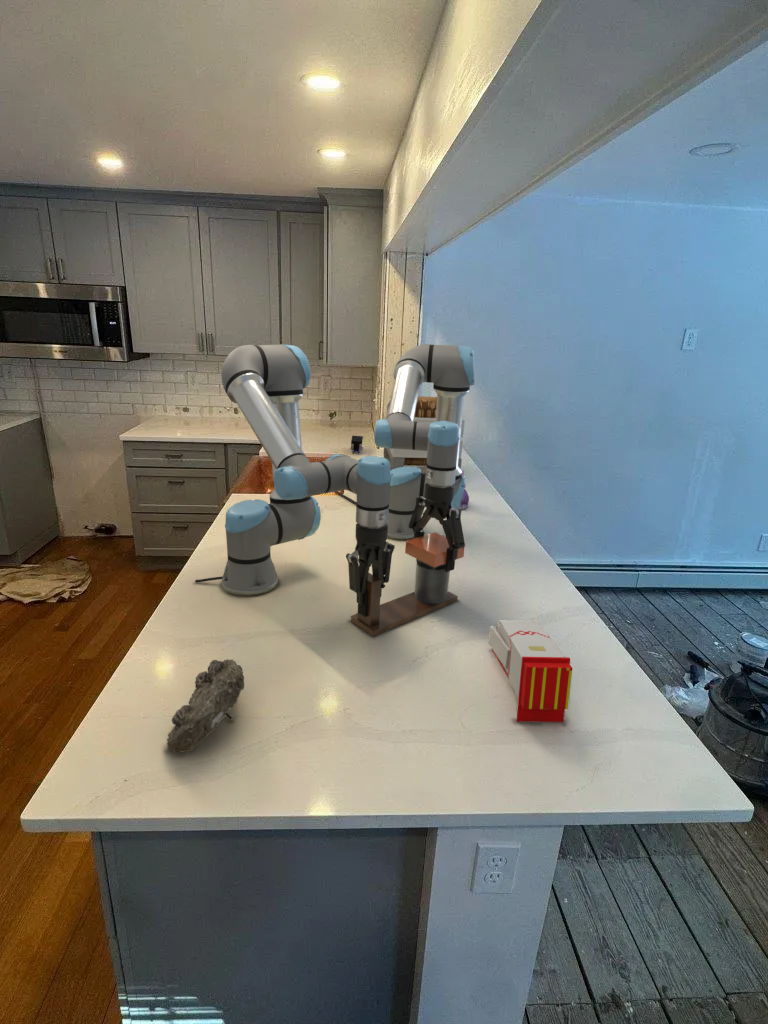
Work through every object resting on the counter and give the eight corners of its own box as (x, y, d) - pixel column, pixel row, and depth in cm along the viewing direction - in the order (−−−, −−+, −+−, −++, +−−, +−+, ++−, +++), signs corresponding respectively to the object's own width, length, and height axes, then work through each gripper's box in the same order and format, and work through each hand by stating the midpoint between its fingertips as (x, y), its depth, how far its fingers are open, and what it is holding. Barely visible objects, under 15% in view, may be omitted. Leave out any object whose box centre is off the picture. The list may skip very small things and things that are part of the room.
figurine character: (362, 457, 305) (363, 447, 318) (362, 443, 301) (363, 434, 315) (350, 456, 304) (351, 447, 318) (350, 443, 301) (351, 434, 314)
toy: (535, 605, 135) (581, 664, 106) (530, 657, 138) (574, 728, 108) (484, 604, 135) (517, 662, 105) (480, 656, 137) (511, 727, 108)
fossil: (192, 660, 117) (244, 628, 112) (224, 691, 120) (276, 661, 115) (142, 746, 98) (202, 712, 93) (182, 779, 101) (242, 748, 96)
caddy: (373, 636, 137) (375, 586, 132) (350, 621, 143) (351, 572, 139) (457, 601, 156) (461, 556, 151) (434, 588, 162) (437, 545, 157)
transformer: (382, 463, 289) (386, 382, 275) (445, 464, 293) (451, 384, 279) (390, 482, 257) (394, 392, 243) (460, 483, 261) (468, 394, 247)
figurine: (455, 512, 224) (459, 475, 218) (441, 504, 232) (444, 468, 227) (475, 509, 228) (478, 473, 223) (460, 501, 236) (463, 466, 231)
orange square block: (433, 573, 144) (435, 555, 142) (404, 558, 151) (405, 540, 150) (463, 562, 150) (464, 545, 149) (433, 548, 158) (434, 532, 156)
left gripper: (354, 536, 124) (351, 629, 132) (408, 521, 134) (402, 608, 142) (334, 525, 130) (333, 615, 138) (387, 512, 140) (383, 597, 148)
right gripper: (397, 474, 150) (393, 551, 157) (464, 498, 133) (456, 582, 141) (418, 470, 154) (413, 544, 162) (485, 493, 138) (476, 574, 145)
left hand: (368, 612), depth 140 cm, fingers closed on caddy, 3 cm apart
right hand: (433, 562), depth 151 cm, fingers closed on orange square block, 11 cm apart
